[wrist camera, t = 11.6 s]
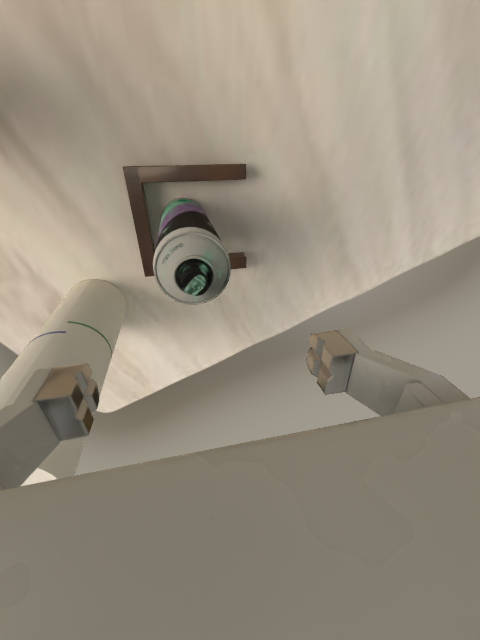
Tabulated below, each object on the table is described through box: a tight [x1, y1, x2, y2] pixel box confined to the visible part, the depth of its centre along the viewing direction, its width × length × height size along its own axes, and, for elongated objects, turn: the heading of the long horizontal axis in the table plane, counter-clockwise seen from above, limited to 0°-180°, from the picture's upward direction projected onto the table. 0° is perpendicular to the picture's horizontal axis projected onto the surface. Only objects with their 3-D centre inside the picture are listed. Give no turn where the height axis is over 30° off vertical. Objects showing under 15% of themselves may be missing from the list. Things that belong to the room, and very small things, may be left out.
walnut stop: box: [123, 164, 246, 277], centre depth 33 cm, size 13×12×2 cm
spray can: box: [153, 198, 231, 305], centre depth 25 cm, size 6×6×20 cm
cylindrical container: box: [0, 279, 127, 486], centre depth 26 cm, size 7×7×25 cm
